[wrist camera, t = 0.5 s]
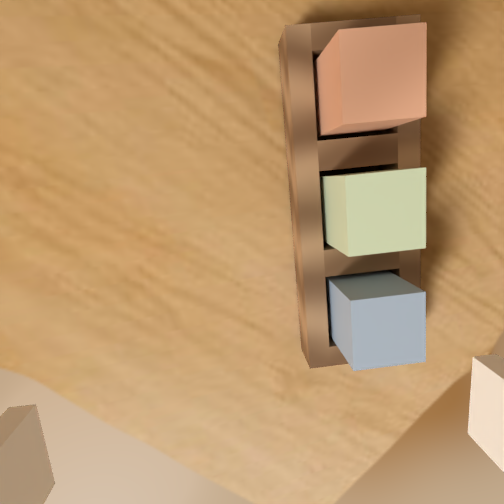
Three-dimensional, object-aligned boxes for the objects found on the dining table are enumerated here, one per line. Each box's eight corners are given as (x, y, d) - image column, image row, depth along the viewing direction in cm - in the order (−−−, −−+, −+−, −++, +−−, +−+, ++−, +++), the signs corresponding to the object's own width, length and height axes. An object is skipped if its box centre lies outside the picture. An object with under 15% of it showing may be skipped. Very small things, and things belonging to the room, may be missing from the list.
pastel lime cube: (319, 176, 32) (345, 175, 25) (384, 170, 32) (426, 167, 25) (323, 241, 33) (348, 256, 26) (385, 234, 34) (425, 248, 27)
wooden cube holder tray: (278, 44, 32) (285, 25, 28) (397, 34, 32) (420, 14, 28) (301, 349, 38) (310, 368, 34) (400, 336, 38) (420, 354, 34)
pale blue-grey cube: (325, 276, 34) (350, 300, 27) (386, 269, 34) (425, 291, 27) (329, 333, 35) (353, 371, 28) (387, 326, 35) (425, 361, 29)
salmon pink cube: (313, 63, 30) (338, 29, 23) (381, 57, 30) (426, 22, 23) (317, 136, 31) (342, 124, 24) (383, 130, 32) (426, 116, 25)
